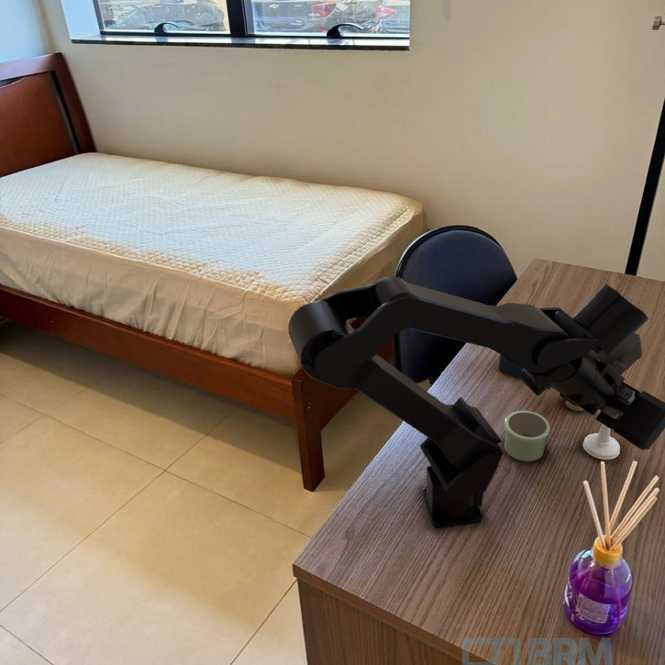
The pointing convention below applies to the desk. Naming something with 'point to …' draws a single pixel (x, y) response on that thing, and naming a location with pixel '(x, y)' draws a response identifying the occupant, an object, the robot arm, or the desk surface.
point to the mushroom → (573, 406)
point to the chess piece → (601, 444)
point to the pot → (526, 435)
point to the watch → (509, 367)
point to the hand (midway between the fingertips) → (616, 409)
